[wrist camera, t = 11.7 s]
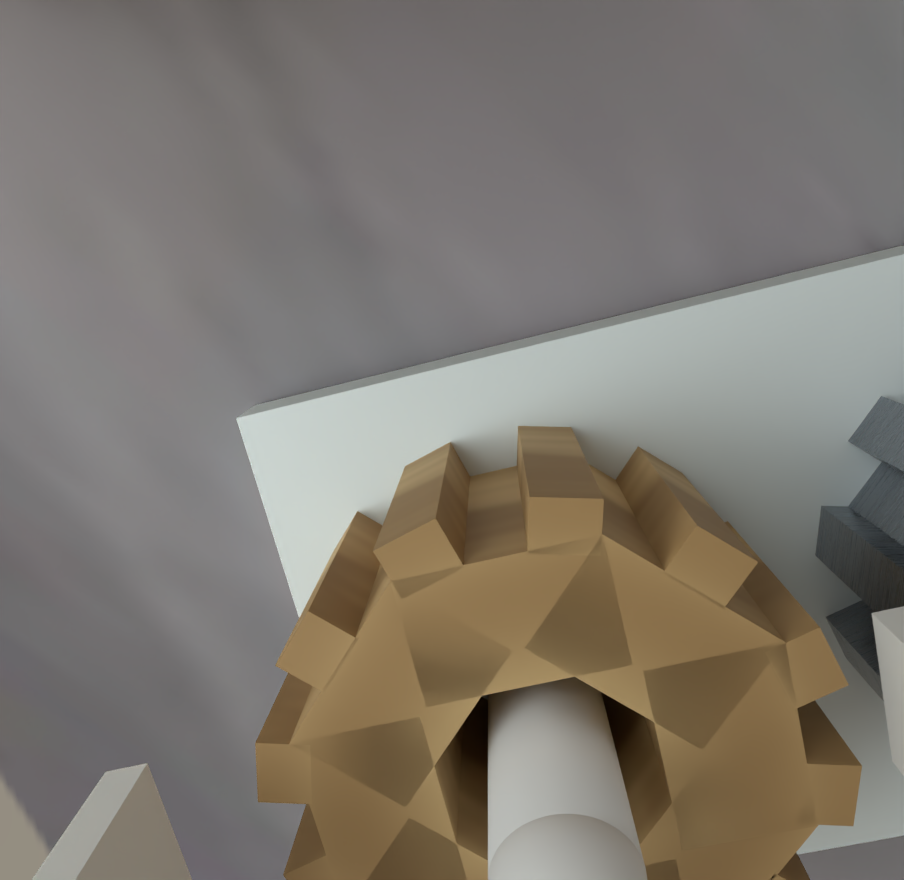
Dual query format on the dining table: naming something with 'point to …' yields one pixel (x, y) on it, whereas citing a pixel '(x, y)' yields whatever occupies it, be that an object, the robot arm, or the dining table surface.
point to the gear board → (608, 449)
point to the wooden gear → (552, 672)
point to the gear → (869, 540)
